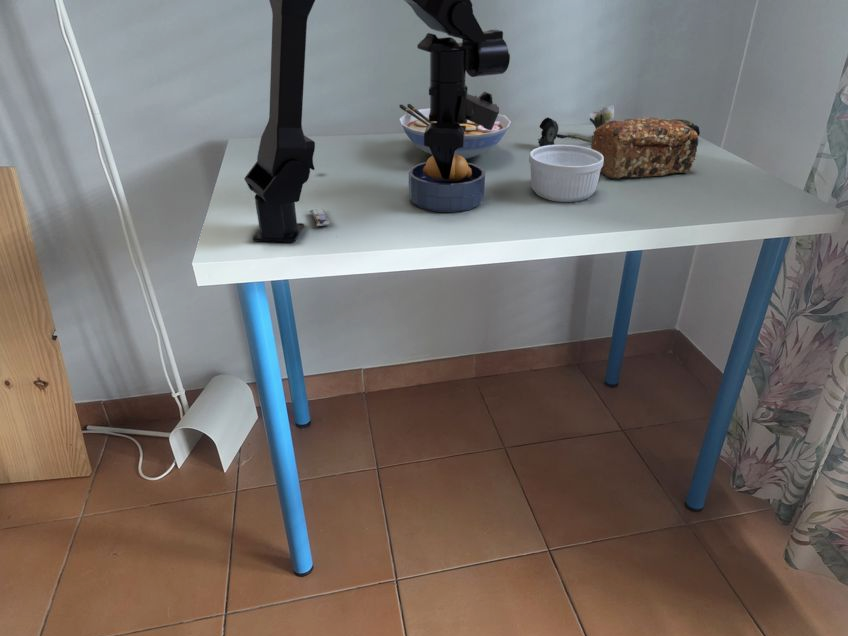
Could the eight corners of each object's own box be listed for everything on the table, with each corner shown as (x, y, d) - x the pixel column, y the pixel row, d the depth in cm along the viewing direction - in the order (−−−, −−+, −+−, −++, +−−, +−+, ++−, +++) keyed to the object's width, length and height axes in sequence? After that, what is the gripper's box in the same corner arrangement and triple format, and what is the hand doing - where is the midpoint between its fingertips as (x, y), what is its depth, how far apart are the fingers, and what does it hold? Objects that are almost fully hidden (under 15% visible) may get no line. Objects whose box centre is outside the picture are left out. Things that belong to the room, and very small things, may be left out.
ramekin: (542, 207, 117) (545, 168, 113) (516, 183, 128) (519, 146, 124) (611, 202, 120) (616, 163, 117) (580, 178, 131) (584, 142, 127)
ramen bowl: (529, 168, 135) (533, 127, 131) (421, 180, 128) (421, 136, 123) (481, 136, 155) (483, 99, 150) (385, 144, 147) (384, 105, 143)
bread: (611, 182, 130) (619, 129, 124) (586, 165, 138) (592, 115, 133) (694, 174, 135) (705, 123, 129) (665, 158, 143) (674, 110, 138)
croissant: (471, 185, 116) (471, 159, 113) (421, 183, 116) (420, 157, 113) (471, 176, 119) (472, 151, 117) (423, 174, 120) (423, 149, 117)
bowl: (483, 214, 114) (484, 186, 111) (405, 211, 114) (404, 183, 111) (484, 188, 125) (485, 161, 122) (413, 185, 125) (413, 159, 122)
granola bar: (309, 213, 112) (308, 207, 111) (323, 212, 113) (322, 206, 112) (316, 228, 107) (316, 222, 106) (331, 227, 107) (330, 220, 107)
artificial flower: (530, 149, 151) (531, 102, 148) (611, 151, 160) (614, 107, 158) (551, 149, 143) (553, 99, 141) (635, 151, 153) (639, 104, 150)
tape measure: (670, 143, 153) (674, 126, 151) (657, 135, 159) (660, 119, 157) (698, 142, 155) (701, 125, 153) (683, 134, 160) (687, 118, 158)
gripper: (497, 94, 101) (492, 194, 109) (497, 70, 116) (493, 160, 125) (423, 91, 101) (424, 192, 109) (433, 68, 116) (433, 157, 125)
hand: (446, 174), depth 117 cm, fingers closed on croissant, 4 cm apart
